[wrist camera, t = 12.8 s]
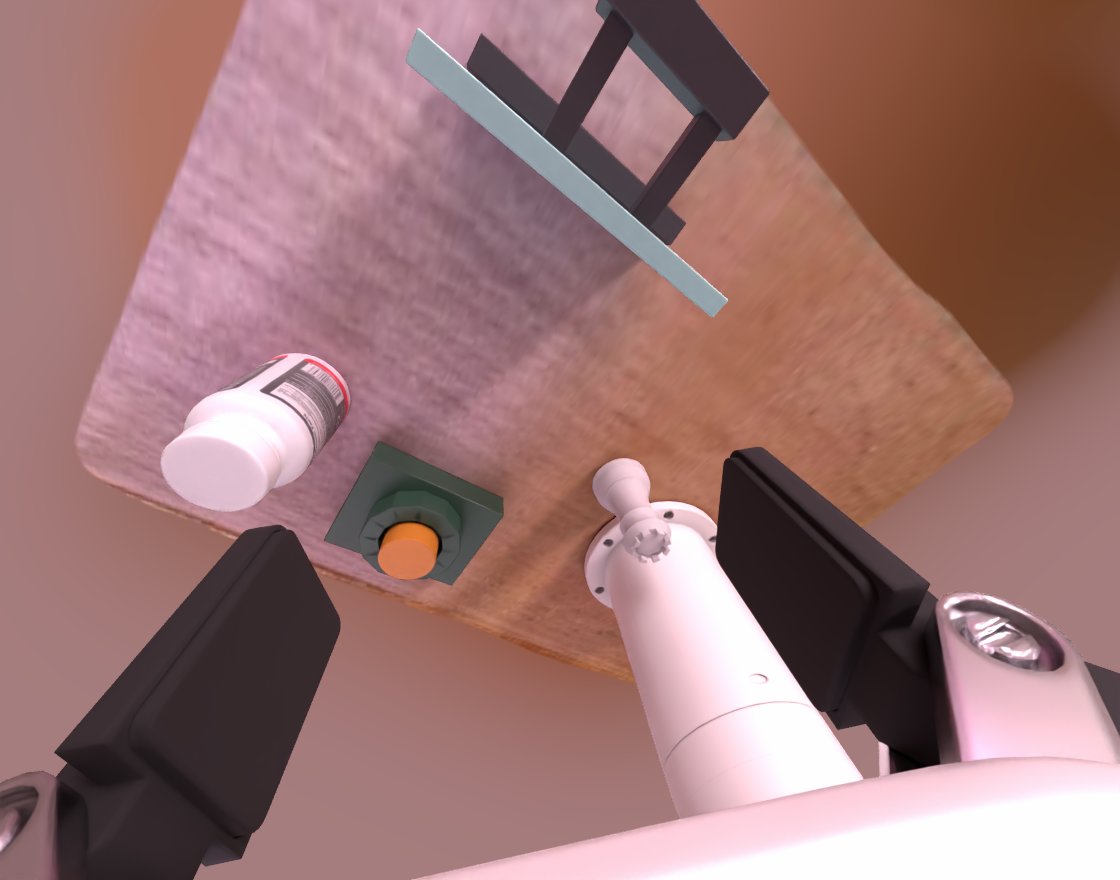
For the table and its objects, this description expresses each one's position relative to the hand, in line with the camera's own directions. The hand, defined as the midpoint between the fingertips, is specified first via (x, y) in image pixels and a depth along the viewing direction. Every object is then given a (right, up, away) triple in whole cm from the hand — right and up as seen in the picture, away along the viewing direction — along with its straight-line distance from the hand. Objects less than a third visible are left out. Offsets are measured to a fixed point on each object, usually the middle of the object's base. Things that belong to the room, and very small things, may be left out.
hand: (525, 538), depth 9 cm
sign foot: (+2, +18, +13) cm, 22 cm away
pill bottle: (-15, +5, +17) cm, 24 cm away
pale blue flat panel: (+1, +13, +8) cm, 15 cm away
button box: (-10, -3, +22) cm, 24 cm away
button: (-9, -5, +19) cm, 22 cm away
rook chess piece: (+5, -1, +24) cm, 24 cm away
